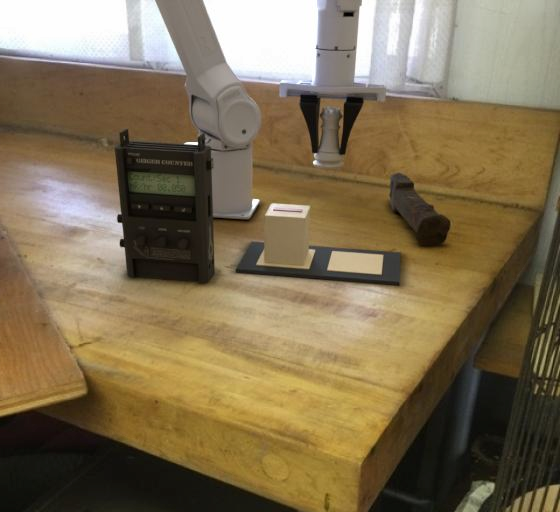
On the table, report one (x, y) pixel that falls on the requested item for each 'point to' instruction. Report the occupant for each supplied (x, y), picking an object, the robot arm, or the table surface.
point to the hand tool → (417, 212)
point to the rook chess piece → (329, 141)
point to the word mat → (329, 265)
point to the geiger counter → (166, 209)
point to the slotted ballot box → (286, 234)
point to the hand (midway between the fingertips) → (329, 152)
